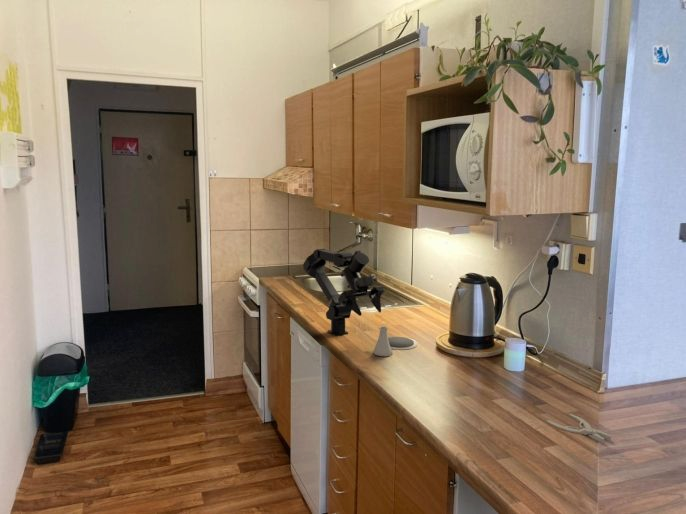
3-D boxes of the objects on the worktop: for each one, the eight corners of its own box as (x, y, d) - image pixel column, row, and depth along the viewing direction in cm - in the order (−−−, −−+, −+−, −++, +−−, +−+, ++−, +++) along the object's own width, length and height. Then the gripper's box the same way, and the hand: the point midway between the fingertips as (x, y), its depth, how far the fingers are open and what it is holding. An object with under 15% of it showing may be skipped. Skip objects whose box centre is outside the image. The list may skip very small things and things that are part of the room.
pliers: (571, 410, 158) (619, 433, 145) (571, 416, 158) (619, 439, 145) (546, 417, 153) (594, 441, 140) (546, 423, 153) (594, 447, 140)
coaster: (371, 340, 221) (371, 338, 221) (402, 335, 229) (402, 333, 228) (393, 352, 208) (393, 350, 208) (425, 346, 216) (425, 344, 216)
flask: (391, 357, 202) (392, 331, 201) (371, 356, 204) (372, 329, 202) (393, 351, 209) (394, 325, 208) (374, 349, 211) (375, 324, 209)
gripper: (342, 269, 207) (359, 305, 200) (382, 265, 218) (400, 298, 210) (331, 286, 215) (346, 321, 208) (370, 281, 225) (386, 314, 218)
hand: (370, 313), depth 211 cm, fingers open, 9 cm apart
